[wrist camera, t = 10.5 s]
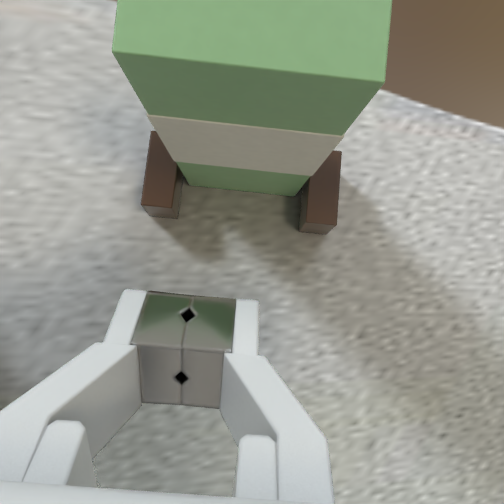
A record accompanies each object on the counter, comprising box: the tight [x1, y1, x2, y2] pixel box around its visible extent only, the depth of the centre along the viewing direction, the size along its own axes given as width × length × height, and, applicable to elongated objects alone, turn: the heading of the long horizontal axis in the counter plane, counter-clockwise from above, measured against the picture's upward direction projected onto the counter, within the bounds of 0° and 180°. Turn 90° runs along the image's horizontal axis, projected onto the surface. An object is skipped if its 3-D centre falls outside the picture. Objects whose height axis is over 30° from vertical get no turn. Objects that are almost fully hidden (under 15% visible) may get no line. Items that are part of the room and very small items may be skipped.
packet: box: [112, 0, 392, 196], centre depth 18 cm, size 16×6×3 cm
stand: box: [141, 131, 342, 234], centre depth 25 cm, size 4×10×2 cm, turn 84°
